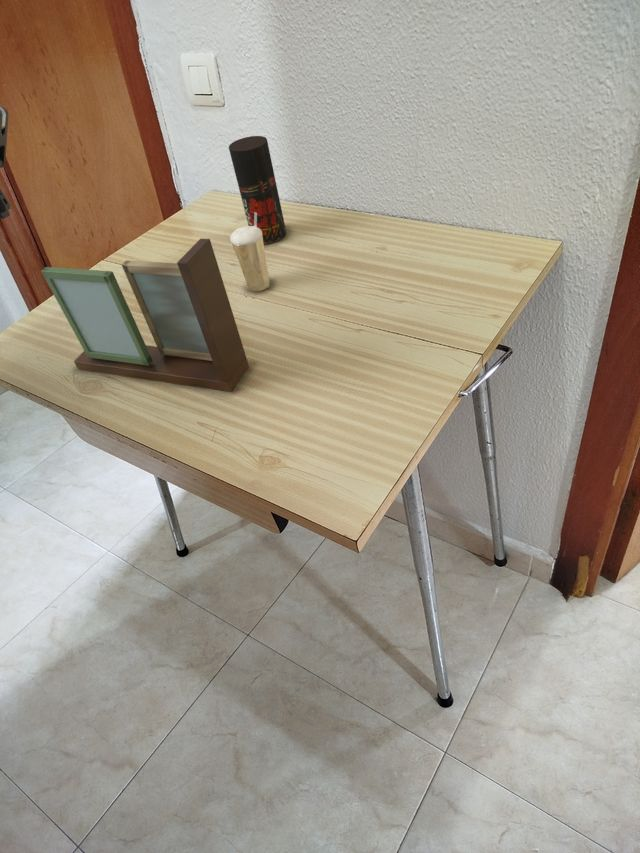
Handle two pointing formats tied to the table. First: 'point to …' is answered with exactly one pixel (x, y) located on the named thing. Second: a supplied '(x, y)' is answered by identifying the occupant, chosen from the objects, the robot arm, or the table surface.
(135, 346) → the panel
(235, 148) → the deodorant
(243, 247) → the milkshake
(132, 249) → the table surface
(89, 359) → the window frame
